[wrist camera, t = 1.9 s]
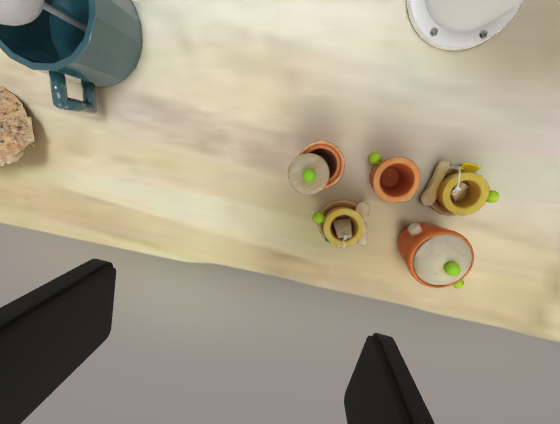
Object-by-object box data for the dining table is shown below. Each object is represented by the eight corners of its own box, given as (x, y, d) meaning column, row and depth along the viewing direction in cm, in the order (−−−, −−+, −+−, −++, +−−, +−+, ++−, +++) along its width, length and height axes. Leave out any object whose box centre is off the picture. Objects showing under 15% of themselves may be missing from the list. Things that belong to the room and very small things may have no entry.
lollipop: (55, 18, 33) (-133, -81, 19) (98, -12, 32) (-68, -143, 18) (86, 72, 35) (-68, 18, 20) (128, 45, 34) (-3, -33, 19)
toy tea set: (491, 169, 34) (563, 177, 25) (447, 273, 38) (495, 314, 29) (298, 126, 35) (298, 119, 25) (275, 233, 39) (267, 260, 29)
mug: (40, -28, 33) (-41, -82, 25) (139, -24, 32) (87, -79, 24) (58, 112, 37) (-6, 103, 29) (146, 118, 36) (104, 110, 28)
